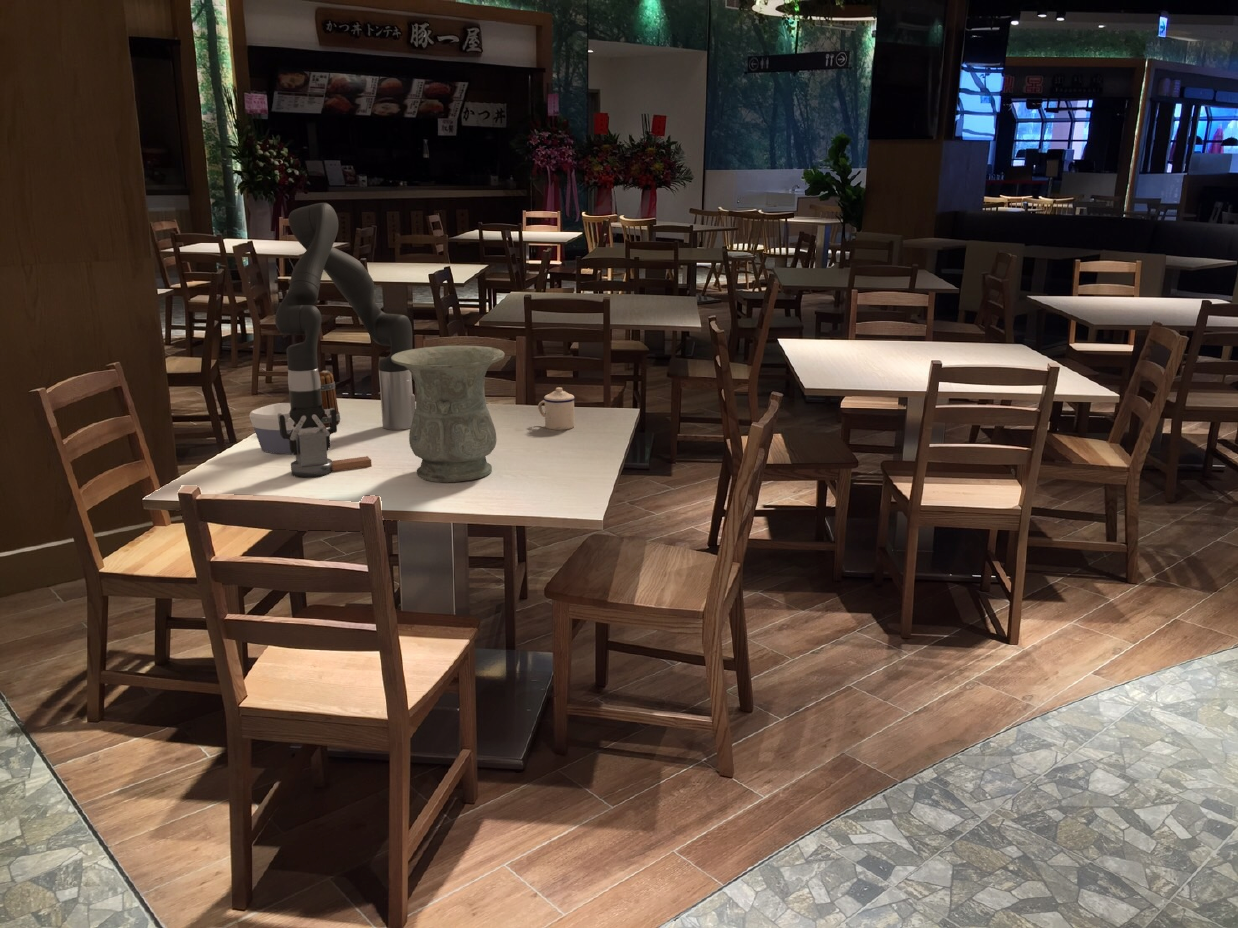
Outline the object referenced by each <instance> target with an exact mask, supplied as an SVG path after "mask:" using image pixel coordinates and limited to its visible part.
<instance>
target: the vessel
mask: <svg viewBox="0 0 1238 928" xmlns="http://www.w3.org/2000/svg"><path fill="white" fill-rule="evenodd" d="M504 358H505V352H504V351H503V350H502V349H499V348H496V347H490V346H481V345H480V346H479V345H439V346H425V347H419V348H412V350H406V351H402V352H399V353H396V354H394V355H393V356H392V357H391V360H392V362H393V363H395V364H399V365H403V366H405V367H406V368H407V369H408V370H409V371H410V372H411V376H412V380H413V381H414V387H415V391H416V394H415V395H416V396H415V407H416V410H415V413H414V417H413V421H412V425H411V428H409V429H410V430H409V434H408V442H409V447H410V449H411V451H412V453H413V454H414V455H415V456H416V457H418V458H420V459H421V460H422V461H421V462H420V463H421V464H420V466H418V468H417V469H416V474H417V476H418V478H421V480H422V479H423V480H424V481H429V482H433V483H454V482H455V483H457V482H466V481H472V480H478V479H480V478H481V479H482V478H484V477H486V476H488V475H489V474H491V473H492V472H493V471H492V470H493V467H492V465H491V464H490V463H489V462H488V461H487V457H486V456H488V455H491V453H492V452H493V451H494V450H495V448H496V445H497V440H498V439H497V431H496V428H495V424H494V422H493V419H492V417H491V413H490V411H489V409H488V406H487V400H486V395H485V376H486V374H487V371H488V369H489V368H490V366H491V365H493V363H497V362H500V361H502V360H503V359H504Z"/></svg>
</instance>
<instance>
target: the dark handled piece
mask: <svg viewBox="0 0 1238 928" xmlns="http://www.w3.org/2000/svg"><path fill="white" fill-rule="evenodd" d="M327 460H328V464H323V465H314V466H304V467H301V466H300V465H299V463H298V462H297V461H296V460H294V461H292V462H290V472H291V473H290V474H291V476H292V475H293V477H294V476H295V478H300V479H312V478H321V477H325V476H328V475H331V474H332V473H333V472H339V471H345V470H347V471H349V470H354V469H360V468H361V469H362V468H363V469H364V468H369V467H372V459H371V458H370V457H369V456H368V455H366V456H361V457H360V456H359V457H353V458H344V459H343V458H342V459H337V460H332V459H331V458H329V457H327Z"/></svg>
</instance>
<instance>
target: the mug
mask: <svg viewBox="0 0 1238 928" xmlns="http://www.w3.org/2000/svg"><path fill="white" fill-rule="evenodd" d="M319 375H320V382H321V396H322V406H323V409H330V408H333V409H335V410H336V420H337V425H339V423H340V422H341V415H340V414H341V413H340V411H339V406H338V398H337V394H336V392H337V391H336V384H335V383H336V382H335V381H334V375H333V373H332V372H330V371H329V370H322V371H320V372H319ZM321 422H322V423H323V425H324V426H325V427H326V428H330V420H329V417H327V414H324V416H323V418H322V419H321ZM315 428H319V427H318V426H316V427H315Z"/></svg>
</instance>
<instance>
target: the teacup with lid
mask: <svg viewBox="0 0 1238 928" xmlns="http://www.w3.org/2000/svg"><path fill="white" fill-rule="evenodd" d="M575 398H576V397H575V396H574V395H573V394H571V393H568V392H567V391H565V390H563V387H556V388H555V390H554V391H552V392H550V393H549V394H546V395H545V396H544V397H543V400H541V401H539V403H538V404H537V410H538V412H539V414H540V416H542V417H544V424H545V425H544V426H545V428H547V429H548V430H553V431H564V430H565V431H566V430H570V429H572V428H574V427H575ZM543 404H544V411H543V407H542V406H543Z"/></svg>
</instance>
